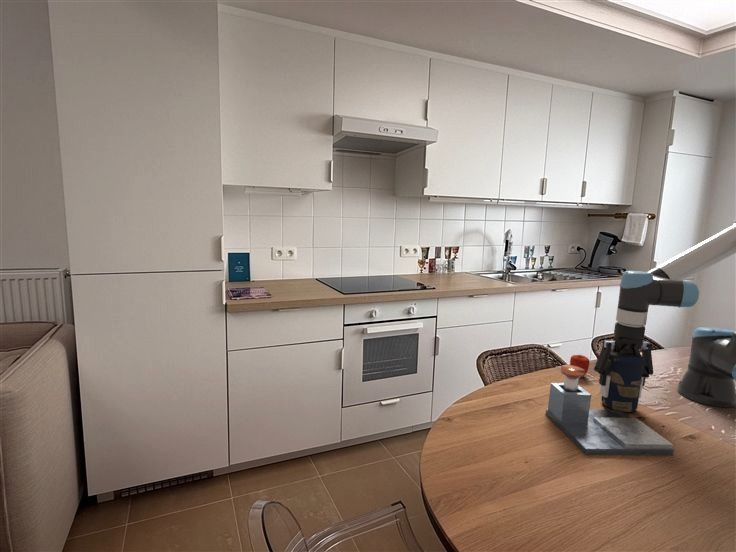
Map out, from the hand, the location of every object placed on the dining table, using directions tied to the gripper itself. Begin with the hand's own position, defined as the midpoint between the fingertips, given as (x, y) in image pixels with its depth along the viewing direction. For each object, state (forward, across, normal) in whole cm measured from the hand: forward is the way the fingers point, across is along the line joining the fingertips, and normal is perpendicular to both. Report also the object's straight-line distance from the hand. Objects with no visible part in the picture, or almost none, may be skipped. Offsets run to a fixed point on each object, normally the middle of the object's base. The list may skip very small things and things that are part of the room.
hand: (619, 395), depth 124 cm
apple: (+4, -1, -24) cm, 24 cm away
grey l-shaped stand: (+4, +14, +15) cm, 21 cm away
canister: (+4, 0, 0) cm, 4 cm away
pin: (-3, +21, +9) cm, 23 cm away
